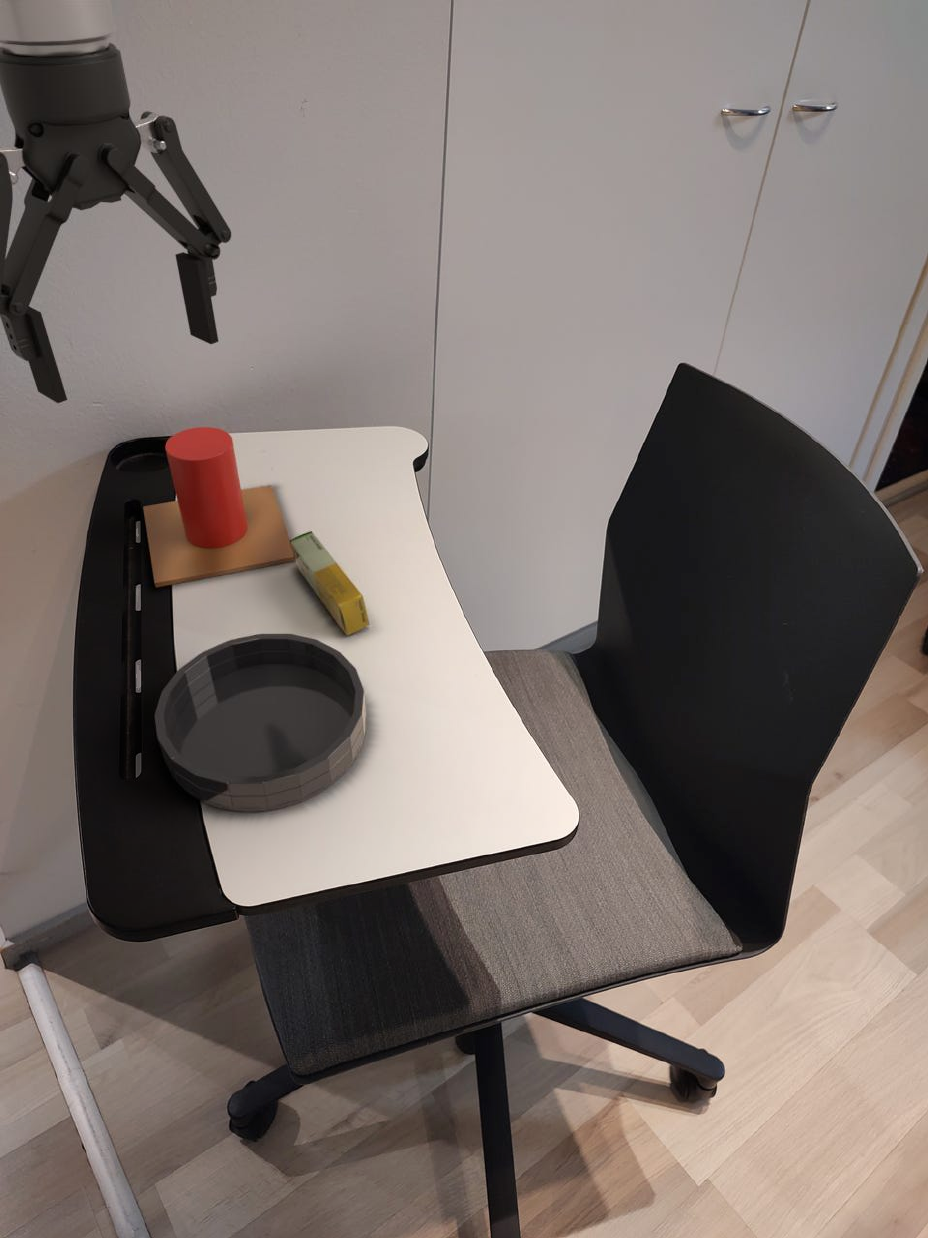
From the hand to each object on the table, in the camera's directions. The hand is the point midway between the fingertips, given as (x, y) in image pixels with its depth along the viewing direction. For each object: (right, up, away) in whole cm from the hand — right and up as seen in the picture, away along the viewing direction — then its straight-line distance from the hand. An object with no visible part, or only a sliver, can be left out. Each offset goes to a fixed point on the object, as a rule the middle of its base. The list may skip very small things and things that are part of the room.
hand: (133, 365), depth 69 cm
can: (0, -10, +25) cm, 27 cm away
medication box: (+13, -18, +18) cm, 28 cm away
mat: (0, -11, +25) cm, 27 cm away
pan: (+9, -29, +5) cm, 31 cm away
